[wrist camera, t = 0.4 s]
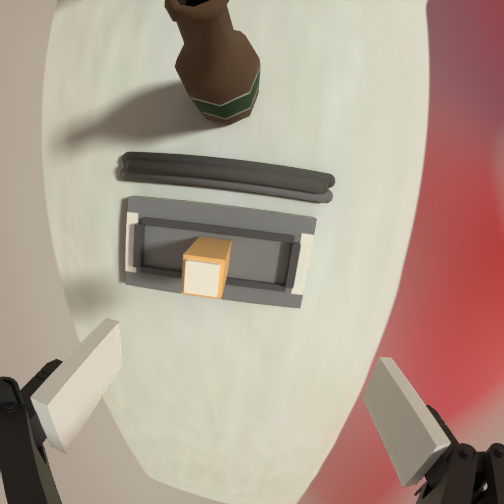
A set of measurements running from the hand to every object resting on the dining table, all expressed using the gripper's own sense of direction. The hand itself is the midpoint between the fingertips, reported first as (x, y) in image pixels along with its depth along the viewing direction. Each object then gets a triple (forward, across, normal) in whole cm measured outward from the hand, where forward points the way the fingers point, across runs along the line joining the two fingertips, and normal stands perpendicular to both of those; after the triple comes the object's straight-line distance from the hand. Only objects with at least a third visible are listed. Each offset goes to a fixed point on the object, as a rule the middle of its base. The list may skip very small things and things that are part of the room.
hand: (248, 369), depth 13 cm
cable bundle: (+26, -5, +9) cm, 28 cm away
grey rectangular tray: (+26, -4, -1) cm, 26 cm away
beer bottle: (+26, -6, +19) cm, 33 cm away
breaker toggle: (+24, -4, -1) cm, 24 cm away
